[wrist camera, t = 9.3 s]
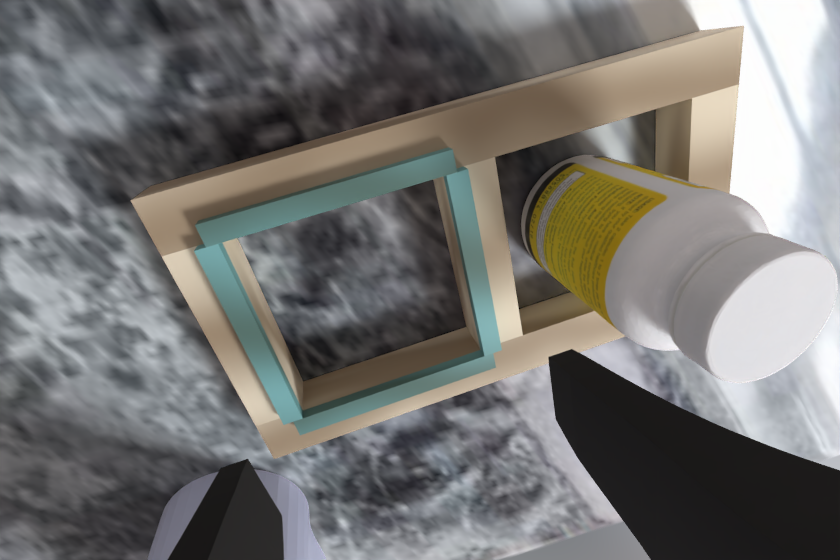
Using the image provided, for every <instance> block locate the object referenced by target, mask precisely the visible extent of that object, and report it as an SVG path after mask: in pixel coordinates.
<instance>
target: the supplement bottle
mask: <svg viewBox="0 0 840 560" xmlns="http://www.w3.org/2000/svg"><path fill="white" fill-rule="evenodd" d="M521 231H522V237H523V241H524V244H525V247H526V249H527V251H528V252H529V254H530V255H531V257H532V258H533V259H534V260H535V261H536V262H537V263H538V264H539V265H540V266H541V267H542V268H543V269H544V270H545V271H547V272H548V273H549V274H550V275H552V276H553V277H554V278H555V279H556V280H558V281H559V282H560V283H561V284H562V285H563V286H565V287H566V288H567V289H568V290H570V291H571V292H572V293H573V294H575V295H576V296H577V297H578V298H579V299H581V300H582V301H583V302H584V303H585V304H587V305H588V306H589V307H590V308H592V309H593V310H594V311H595V312H596V313H598V314H599V315H600V316H601V317H602V318H603V319H605V320H606V321H607V322H608V323H609V324H611V325H612V326H613V327H614V328H616V329H617V330H618V331H619V332H621V333H622V334H624V335H625V336H626V337H628V338H629V339H631V340H632V341H634V342H636V343H637V344H640V345H642V346H645V347H648V348H651V349H656V350H667V351H669V350H681V351H682V353H683V354H684V355H686V356H687V357H688V358H689V359H691V360H693V361H694V362H696V363H697V364H699V365H700V366H701V367H703V368H704V369H705V370H707V371H708V372H709V373H711V374H712V375H714V376H715V377H717V378H719V379H721V380H724V381H727V382H732V383H746V382H751V381H756V380H759V379H762V378H765V377H767V376H770V375H772V374H774V373H776V372H777V371H779V370H781V369H782V368H784V367H786V366H787V365H788V364H790V363H791V362H792V361H794V360H795V359H796V358H797V357H798V356H799V355H801V354H802V353H803V352H804V351H805V350H806V349H807V348H808V347H809V346H810V345H811V343H812V342H813V341H814V340H815V339H816V338H817V336H818V335H819V333H820V332H821V330H822V329H823V327H824V326H825V324H826V322H827V320H828V319H829V317H830V314H831V312H832V310H833V307H834V304H835V301H836V296H837V284H838V281H837V274H836V271H835V268H834V267H833V265H832V263H831V261H830V260H828V259H827V258H826V257H825V256H824V255H822V254H821V253H819V252H817V251H815V250H813V249H810V248H807V247H804V246H801V245H799V244H796V243H793V242H791V241H788V240H785V239H783V238H780V237H776V236H773V235H771V234H769V232H768V229H767V226H766V224H765V222H764V220H763V219H762V217H761V215H760V214H759V213H758V212H757V210H756V209H755V208H754V207H753V206H751V205H750V204H749V203H748V202H746V201H744V200H743V199H741V198H739V197H737V196H734V195H731V194H728V193H726V192H723V191H720V190H717V189H713V188H709V187H706V186H702V185H699V184H696V183H692V182H688V181H685V180H682V179H678V178H675V177H672V176H669V175H665V174H662V173H658V172H655V171H652V170H648V169H645V168H641V167H639V166H635V165H632V164H629V163H625V162H621V161H618V160H615V159H611V158H607V157H603V156H598V155H580V156H575V157H572V158H569V159H566V160H564V161H562V162H560V163H558V164H556V165H555V166H553V167H552V168H551V169H550V170H548V171H547V172H546V173H545V174H544V175H543V176H542V177H541V178H540V179H539V180H538V181H537V183H536V184H535V185H534V187H533V188H532V190H531V191H530V193H529V195H528V197H527V200H526V202H525V205H524V208H523V212H522V219H521Z"/></svg>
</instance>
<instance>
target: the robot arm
mask: <svg viewBox="0 0 840 560" xmlns="http://www.w3.org/2000/svg"><path fill="white" fill-rule="evenodd" d="M548 359H549V367H550V376H551V384H552V392H553V400H554V408H555V416H556V420H557V422H558V424H559V426H560V428H561V429H562V431H563V433H564V435H565V437H566V438H567V440H568V442H569V444H570V445H571V447H572V449H573V451H574V452H575V454H576V456H577V457H578V459H579V460H580V462H581V463H582V464H583V466H584V467H585V469H586V470H587V471H588V473H589V474H590V476H591V477H592V478H593V480H594V481H595V483H596V484H597V485H598V487H599V488H600V489H601V491H602V492H603V494H604V495H605V496H606V498H607V499H608V500H609V502H610V503H611V504H612V506H613V507H614V509H615V510H616V511H617V513H618V514H619V515H620V517H621V518H622V520H623V521H624V522H625V524H626V525H627V526H628V528H629V529H630V530H631V532H632V533H633V535H634V536H635V537H636V539H637V540H638V541H639V542H640V544H641V546H642V547H643V549H644V550H645V552H646V553H647V554H648V556H649V557H650V559H651V560H840V471H839V470H837V469H834V468H831V467H827V466H825V465H821V464H819V463H816V462H813V461H810V460H807V459H804V458H801V457H798V456H795V455H792V454H790V453H787V452H784V451H781V450H779V449H776V448H773V447H771V446H768V445H766V444H763V443H761V442H758V441H755V440H753V439H750V438H748V437H745V436H743V435H740V434H738V433H735V432H733V431H730V430H728V429H726V428H724V427H721V426H719V425H717V424H714V423H712V422H710V421H708V420H706V419H703V418H701V417H699V416H697V415H695V414H693V413H690V412H688V411H686V410H684V409H682V408H680V407H678V406H676V405H674V404H672V403H670V402H668V401H666V400H664V399H662V398H660V397H658V396H656V395H654V394H652V393H651V392H649V391H647V390H645V389H643V388H641V387H639V386H637V385H635V384H634V383H632V382H630V381H628V380H626V379H624V378H623V377H621V376H619V375H617V374H616V373H614V372H612V371H610V370H608V369H607V368H605V367H603V366H601V365H600V364H598V363H596V362H594V361H593V360H591V359H589V358H587V357H586V356H584V355H582V354H580V353H579V352H577V351H575V350H573V349H570V350H567V351H565V352H562V353H559V354H556V355H553V356H550V357H548ZM147 560H326V557H325V555H324V553H323V551H322V549H321V547H320V545H319V544H318V542H317V540H316V538H315V537H314V534H313V532H312V530H311V526H310V520H309V506H308V502H307V500H306V497H305V495H304V494H303V493H302V491H301V490H300V489H299V487H297V486H296V485H295V484H294V483H292V482H291V481H290V480H288V479H286V478H284V477H282V476H280V475H278V474H275V473H271V472H268V471H264V470H257V469H254V468H253V467H252V465H251V463H250V462H249V460H248V459H246V460H243V461H240V462H237V463H234V464H231V465H228V466H225V467H223V468H221V469H220V470H219V472H215V473H211V474H208V475H205V476H203V477H200V478H198V479H196V480H193V481H192V482H190V483H189V484H187V485H186V486H184V487H182V488H181V489H180V490H179V491H178V492H177V493H176V494H174V495H173V496H172V497H171V499H170V500H169V502H168V503H167V505H166V506H165V508H164V511H163V513H162V516H161V519H160V522H159V525H158V528H157V531H156V534H155V537H154V540H153V543H152V546H151V549H150V552H149V555H148V558H147Z"/></svg>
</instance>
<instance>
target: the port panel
mask: <svg viewBox="0 0 840 560" xmlns="http://www.w3.org/2000/svg"><path fill="white" fill-rule="evenodd" d="M743 30H744V26H738V27H729V28H719V29H710V30H701V31H697V32H694V33H690V34H687V35H683V36H680V37H676V38H673V39H669V40H666V41H662V42H659V43H655V44H651V45H648V46H644V47H641V48H637V49H634V50H630V51H627V52H623V53H620V54H616V55H613V56H609V57H605V58H602V59H598V60H595V61H591V62H588V63H584V64H581V65H577V66H574V67H570V68H567V69H563V70H559V71H556V72H552V73H549V74H545V75H542V76H538V77H535V78H531V79H528V80H524V81H521V82H517V83H514V84H510V85H506V86H503V87H499V88H496V89H492V90H489V91H485V92H482V93H478V94H475V95H471V96H468V97H464V98H460V99H457V100H453V101H450V102H446V103H443V104H439V105H436V106H432V107H429V108H425V109H422V110H418V111H414V112H411V113H407V114H404V115H400V116H397V117H393V118H390V119H386V120H383V121H379V122H376V123H372V124H368V125H365V126H361V127H358V128H354V129H351V130H347V131H344V132H340V133H337V134H333V135H330V136H326V137H323V138H319V139H315V140H312V141H308V142H305V143H301V144H298V145H294V146H291V147H287V148H284V149H280V150H277V151H273V152H269V153H266V154H262V155H259V156H255V157H252V158H248V159H245V160H241V161H238V162H234V163H231V164H227V165H223V166H220V167H216V168H213V169H209V170H206V171H202V172H199V173H195V174H192V175H188V176H185V177H181V178H177V179H174V180H170V181H167V182H163V183H160V184H156V185H153V186H150V187H148V188H147V189H146V190H144V191H143V192H141V193H140V194H139V195H137V196H136V197H134V198H133V199H132V200H130V201H131V202H132V204H133V206H134V208H135V210H136V211H137V213H138V215H139V217H140V219H141V220H142V222H143V224H144V226H145V228H146V229H147V231H148V233H149V235H150V237H151V238H152V240H153V242H154V244H155V246H156V247H157V249H158V251H159V253H160V255H161V256H162V258H163V260H164V262H165V264H166V265H167V267H168V269H169V271H170V273H171V274H172V276H173V278H174V280H175V281H176V283H177V285H178V287H179V289H180V290H181V292H182V294H183V296H184V298H185V299H186V301H187V303H188V305H189V307H190V308H191V310H192V312H193V314H194V316H195V317H196V319H197V321H198V323H199V325H200V326H201V328H202V330H203V332H204V334H205V335H206V337H207V339H208V341H209V343H210V344H211V346H212V348H213V350H214V352H215V353H216V355H217V357H218V359H219V361H220V362H221V364H222V366H223V368H224V370H225V371H226V373H227V375H228V377H229V379H230V380H231V382H232V384H233V386H234V388H235V389H236V391H237V393H238V395H239V397H240V398H241V400H242V402H243V404H244V406H245V407H246V409H247V411H248V413H249V415H250V416H251V418H252V420H253V422H254V424H255V425H256V427H257V429H258V431H259V432H260V434H261V436H262V438H263V440H264V441H265V443H266V445H267V447H268V449H269V450H270V452H271V454H272V456H273V458H274V459H276V458H278V457H281V456H284V455H287V454H290V453H293V452H296V451H299V450H301V449H304V448H307V447H310V446H313V445H316V444H319V443H321V442H324V441H327V440H330V439H333V438H336V437H339V436H341V435H344V434H347V433H350V432H353V431H356V430H359V429H361V428H364V427H367V426H370V425H373V424H376V423H379V422H381V421H384V420H387V419H390V418H393V417H396V416H399V415H402V414H404V413H407V412H410V411H413V410H416V409H419V408H422V407H424V406H427V405H430V404H433V403H436V402H439V401H442V400H444V399H447V398H450V397H453V396H456V395H459V394H462V393H464V392H467V391H470V390H473V389H476V388H479V387H482V386H485V385H487V384H490V383H493V382H496V381H499V380H502V379H505V378H507V377H510V376H513V375H516V374H519V373H522V372H525V371H527V370H530V369H533V368H536V367H539V366H542V365H545V364H547V363H549V359H548V357H550V356H553V355H556V354H559V353H562V352H565V351H567V350H570V349H573V350H575V351H577V352H582V351H585V350H588V349H590V348H593V347H596V346H599V345H602V344H605V343H608V342H610V341H613V340H616V339H619V338H622V337H625V335H624V334H622V333H621V332H619V331H618V330H617V329H616V328H614V327H613V326H612V325H611V324H609V323H608V322H607V321H606V320H605V319H603V318H602V317H601V316H600V315H599V314H598V313H596V312H595V311H594V310H593V309H592V308H590V307H589V306H588V305H587V304H585V303H584V302H583V301H582V300H581V299H579V298H578V297H577V296H576V295H575V294H573V293H572V292H569V293H566V294H563V295H560V296H557V297H554V298H551V299H548V300H545V301H542V302H539V303H536V304H533V305H530V306H527V307H524V308H521V309H519V307H518V301H517V295H516V288H515V282H514V276H513V269H512V263H511V256H510V250H509V244H508V237H507V231H506V225H505V218H504V212H503V205H502V199H501V193H500V186H499V180H498V174H497V167H496V161H495V157H497V156H500V155H504V154H507V153H510V152H514V151H517V150H520V149H524V148H527V147H530V146H534V145H537V144H540V143H544V142H547V141H550V140H554V139H557V138H561V137H564V136H567V135H571V134H574V133H577V132H581V131H584V130H587V129H591V128H594V127H597V126H601V125H604V124H607V123H611V122H614V121H618V120H621V119H624V118H628V117H631V116H634V115H638V114H641V113H644V112H648V111H651V110H654V109H656V145H655V172H658V173H662V174H665V175H669V176H672V177H675V178H678V179H682V180H685V181H688V182H692V183H696V184H699V185H702V186H706V187H709V188H713V189H717V190H720V191H723V192H726V193H728V194H729V191H730V179H731V168H732V156H733V145H734V133H735V122H736V110H737V99H738V87H739V76H740V64H741V53H742V41H743ZM430 180H433V181H434V186H435V190H436V195H437V199H438V204H439V208H440V212H441V217H442V221H443V226H444V230H445V235H446V239H447V243H448V248H449V252H450V257H451V261H452V266H453V270H454V274H455V279H456V283H457V288H458V292H459V297H460V301H461V305H462V310H463V314H464V319H465V323H466V327H465V328H462V329H459V330H456V331H453V332H450V333H447V334H444V335H441V336H438V337H435V338H432V339H429V340H426V341H423V342H420V343H417V344H414V345H411V346H408V347H405V348H402V349H399V350H396V351H393V352H390V353H387V354H384V355H381V356H378V357H375V358H372V359H369V360H366V361H363V362H360V363H357V364H354V365H351V366H348V367H345V368H342V369H339V370H336V371H333V372H330V373H327V374H324V375H321V376H318V377H315V378H312V379H309V380H306V381H303V380H302V378H301V375H300V373H299V371H298V369H297V367H296V365H295V362H294V360H293V358H292V356H291V354H290V352H289V349H288V347H287V345H286V343H285V341H284V338H283V336H282V334H281V332H280V330H279V328H278V325H277V323H276V321H275V319H274V317H273V315H272V312H271V310H270V308H269V306H268V304H267V302H266V299H265V297H264V295H263V293H262V291H261V288H260V286H259V284H258V282H257V280H256V278H255V275H254V273H253V271H252V269H251V267H250V265H249V262H248V260H247V258H246V256H245V254H244V251H243V249H242V247H241V245H240V243H239V241H238V238H239V237H243V236H246V235H249V234H253V233H256V232H259V231H263V230H266V229H269V228H273V227H276V226H279V225H283V224H286V223H289V222H293V221H296V220H299V219H303V218H306V217H309V216H313V215H316V214H319V213H323V212H326V211H329V210H333V209H336V208H339V207H343V206H346V205H350V204H353V203H356V202H360V201H363V200H366V199H370V198H373V197H376V196H380V195H383V194H386V193H390V192H393V191H396V190H400V189H403V188H406V187H410V186H413V185H416V184H420V183H423V182H426V181H430Z"/></svg>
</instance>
